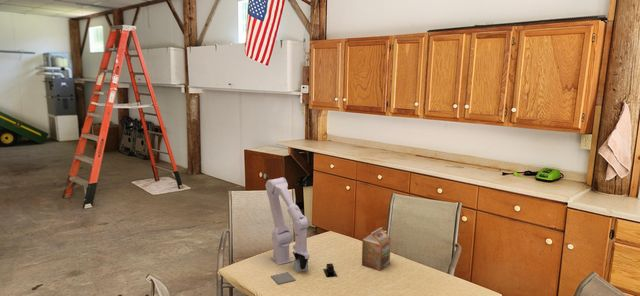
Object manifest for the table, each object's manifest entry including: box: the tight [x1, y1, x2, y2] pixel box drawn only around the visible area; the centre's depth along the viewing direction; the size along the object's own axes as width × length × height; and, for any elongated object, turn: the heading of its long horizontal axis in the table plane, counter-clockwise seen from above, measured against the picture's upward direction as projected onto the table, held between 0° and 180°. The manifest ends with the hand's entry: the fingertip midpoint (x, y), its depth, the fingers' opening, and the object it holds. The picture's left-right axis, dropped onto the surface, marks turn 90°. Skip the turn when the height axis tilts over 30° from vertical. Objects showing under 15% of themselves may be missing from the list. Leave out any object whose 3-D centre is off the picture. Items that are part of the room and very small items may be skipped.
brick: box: [293, 259, 309, 273], centre depth 217 cm, size 4×6×5 cm, turn 119°
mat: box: [270, 271, 296, 286], centre depth 207 cm, size 9×9×1 cm
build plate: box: [322, 263, 338, 278], centre depth 214 cm, size 12×7×5 cm, turn 11°
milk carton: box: [361, 226, 392, 272], centre depth 222 cm, size 11×11×19 cm
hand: (300, 266), depth 217 cm, fingers closed on brick, 4 cm apart
